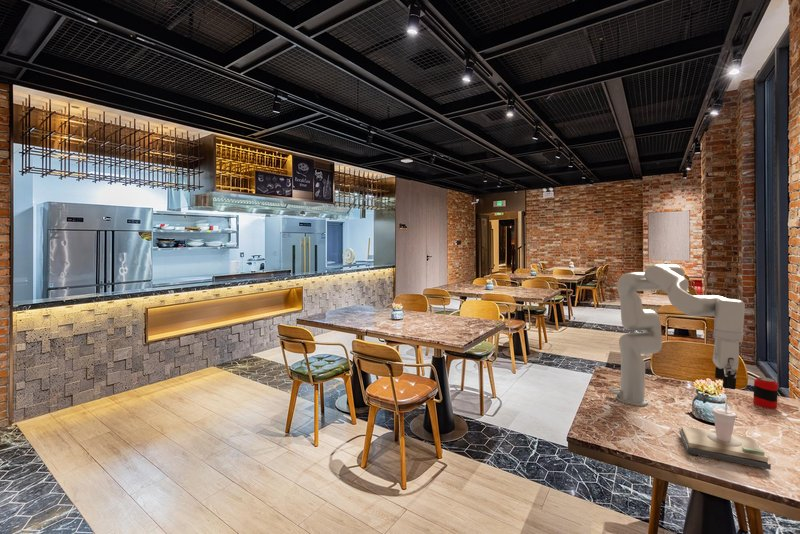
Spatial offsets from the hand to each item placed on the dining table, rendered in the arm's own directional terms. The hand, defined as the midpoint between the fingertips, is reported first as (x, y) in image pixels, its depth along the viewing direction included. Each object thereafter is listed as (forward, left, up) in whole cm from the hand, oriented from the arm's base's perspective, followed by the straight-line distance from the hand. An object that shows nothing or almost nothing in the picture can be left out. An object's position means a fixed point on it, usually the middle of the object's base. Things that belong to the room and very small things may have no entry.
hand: (724, 383), depth 128 cm
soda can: (+27, +58, -24) cm, 68 cm away
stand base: (-1, -1, -24) cm, 24 cm away
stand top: (-1, -1, -21) cm, 21 cm away
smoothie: (0, 0, -20) cm, 20 cm away
